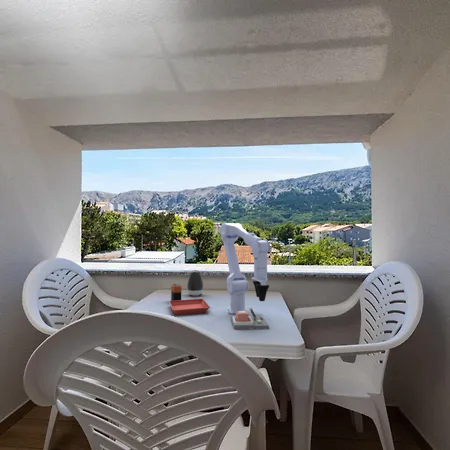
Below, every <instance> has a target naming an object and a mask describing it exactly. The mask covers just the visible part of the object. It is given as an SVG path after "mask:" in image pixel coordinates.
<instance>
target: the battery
mask: <svg viewBox="0 0 450 450" xmlns="http://www.w3.org/2000/svg"><path fill="white" fill-rule="evenodd" d="M170 287H171V288H170V289H171V290H170V294H171V295H170V297H171V298H170V299H171V300H170V301H176V300H182V285H181V284H179V283H178V282H174V283H173V284H171V286H170Z"/></svg>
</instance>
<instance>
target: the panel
mask: <svg viewBox="0 0 450 450" xmlns="http://www.w3.org/2000/svg"><path fill="white" fill-rule="evenodd" d="M254 314H255V316H256V318H257V319H256V320H255V319H254V317H253V315H252V313H248V322H237V321H236V314H230V320H231V322H232V325H233V329H234V330H250V329H249V328H267V329H270V327H269V324H268V322H267V321H266V319H265V318H264V316H263V315H262V313H258V314H257V313H254ZM247 328H248V329H247Z"/></svg>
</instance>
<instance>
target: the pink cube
mask: <svg viewBox="0 0 450 450" xmlns="http://www.w3.org/2000/svg"><path fill="white" fill-rule="evenodd" d="M248 314H249V312H248V311H247V310H246V311H236V314H235V315H236V321H237V322H248Z"/></svg>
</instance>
